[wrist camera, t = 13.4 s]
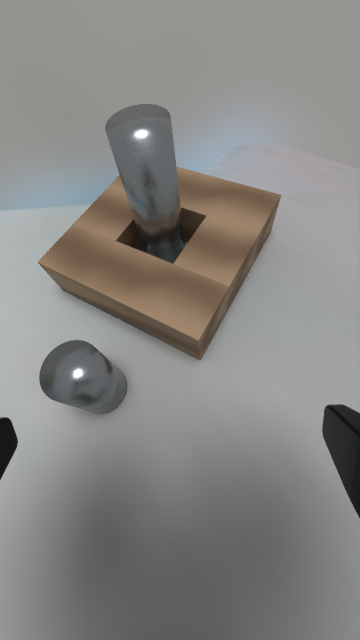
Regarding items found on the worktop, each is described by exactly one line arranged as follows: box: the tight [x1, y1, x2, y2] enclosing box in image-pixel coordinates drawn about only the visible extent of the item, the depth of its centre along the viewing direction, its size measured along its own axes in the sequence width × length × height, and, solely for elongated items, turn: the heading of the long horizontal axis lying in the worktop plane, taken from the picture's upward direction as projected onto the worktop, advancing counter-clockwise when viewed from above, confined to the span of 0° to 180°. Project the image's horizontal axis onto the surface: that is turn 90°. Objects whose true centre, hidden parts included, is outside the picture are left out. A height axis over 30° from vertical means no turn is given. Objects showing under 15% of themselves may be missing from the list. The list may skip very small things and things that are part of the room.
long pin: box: [105, 104, 185, 264], centre depth 21 cm, size 4×4×13 cm
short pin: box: [39, 340, 127, 414], centre depth 19 cm, size 4×4×6 cm
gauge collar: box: [38, 167, 281, 360], centre depth 25 cm, size 16×16×4 cm
